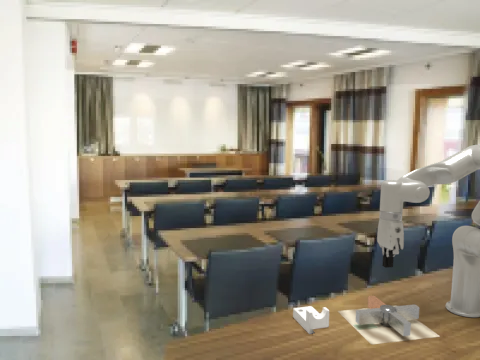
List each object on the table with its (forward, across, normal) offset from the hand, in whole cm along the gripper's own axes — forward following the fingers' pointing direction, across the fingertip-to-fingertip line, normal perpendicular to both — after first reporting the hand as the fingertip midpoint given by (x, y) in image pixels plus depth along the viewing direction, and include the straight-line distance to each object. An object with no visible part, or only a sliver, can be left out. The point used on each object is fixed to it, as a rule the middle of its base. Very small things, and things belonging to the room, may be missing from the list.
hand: (387, 266), depth 151 cm
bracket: (+19, 0, +29) cm, 34 cm away
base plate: (+18, -8, +5) cm, 20 cm away
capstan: (+17, -9, +5) cm, 20 cm away
